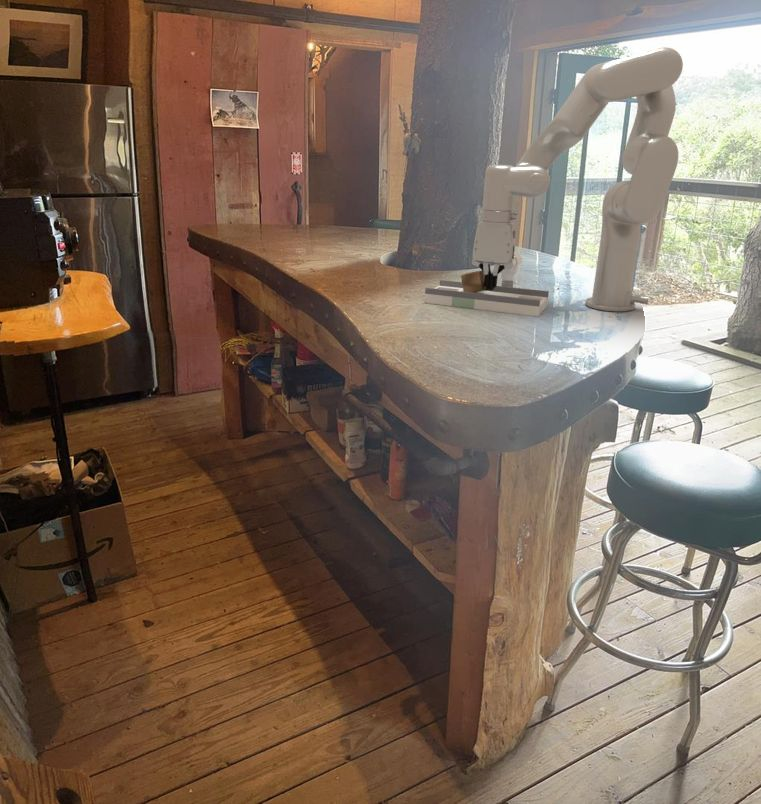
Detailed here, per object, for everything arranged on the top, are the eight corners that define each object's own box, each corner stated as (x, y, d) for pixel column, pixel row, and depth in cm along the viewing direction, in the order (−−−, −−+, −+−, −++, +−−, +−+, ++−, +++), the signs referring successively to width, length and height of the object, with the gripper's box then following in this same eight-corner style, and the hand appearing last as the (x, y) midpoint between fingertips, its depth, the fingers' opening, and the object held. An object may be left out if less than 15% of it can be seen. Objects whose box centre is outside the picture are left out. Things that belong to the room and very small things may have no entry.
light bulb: (500, 294, 184) (504, 251, 179) (490, 289, 190) (494, 247, 185) (523, 293, 186) (527, 250, 181) (512, 288, 192) (516, 246, 187)
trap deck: (547, 306, 172) (548, 291, 170) (538, 316, 161) (539, 300, 160) (439, 294, 183) (440, 279, 181) (424, 302, 172) (425, 287, 171)
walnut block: (488, 288, 173) (485, 269, 171) (481, 291, 168) (478, 272, 167) (470, 291, 175) (467, 273, 174) (464, 294, 171) (460, 275, 170)
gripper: (529, 218, 163) (521, 290, 170) (471, 213, 169) (466, 284, 175) (523, 220, 157) (515, 295, 164) (463, 216, 162) (458, 289, 169)
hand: (489, 289), depth 170 cm, fingers closed
